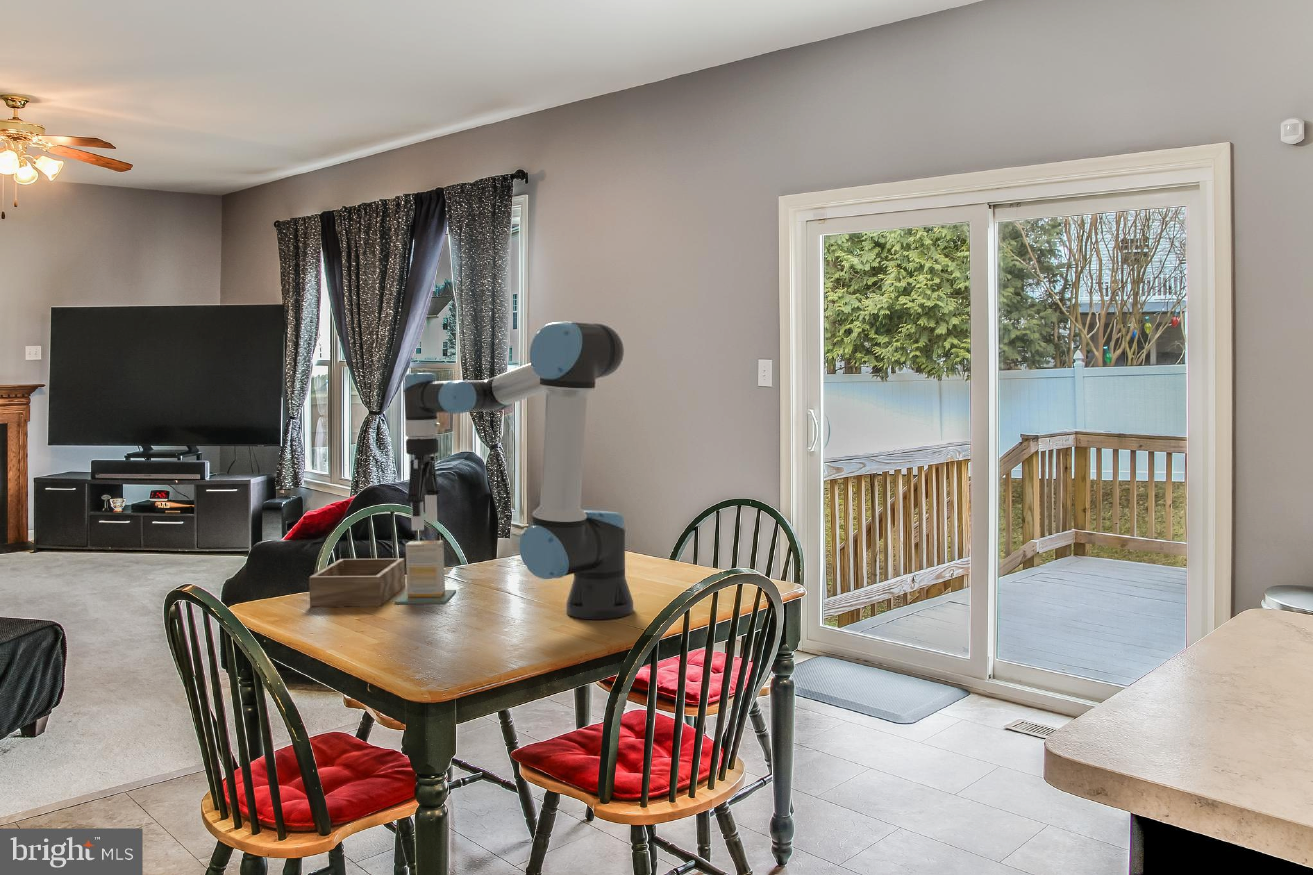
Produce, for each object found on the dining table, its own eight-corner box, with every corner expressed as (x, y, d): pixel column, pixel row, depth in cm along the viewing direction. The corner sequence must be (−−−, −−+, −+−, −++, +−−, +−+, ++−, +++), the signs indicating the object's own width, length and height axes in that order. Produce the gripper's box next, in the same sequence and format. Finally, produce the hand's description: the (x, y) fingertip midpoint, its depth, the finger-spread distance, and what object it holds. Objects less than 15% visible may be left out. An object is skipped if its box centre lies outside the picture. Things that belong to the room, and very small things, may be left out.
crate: (380, 606, 226) (379, 576, 226) (309, 606, 226) (309, 577, 226) (405, 585, 248) (404, 558, 248) (341, 585, 248) (340, 558, 248)
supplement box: (445, 593, 236) (444, 540, 236) (440, 597, 232) (439, 543, 231) (412, 593, 237) (411, 540, 236) (406, 597, 232) (405, 543, 231)
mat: (445, 603, 228) (445, 601, 228) (394, 603, 228) (394, 601, 228) (456, 592, 240) (456, 589, 240) (407, 592, 240) (407, 590, 240)
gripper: (425, 440, 219) (428, 533, 220) (449, 434, 244) (451, 517, 245) (391, 441, 219) (395, 534, 220) (419, 434, 244) (422, 518, 245)
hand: (424, 525), depth 233 cm, fingers open, 13 cm apart
